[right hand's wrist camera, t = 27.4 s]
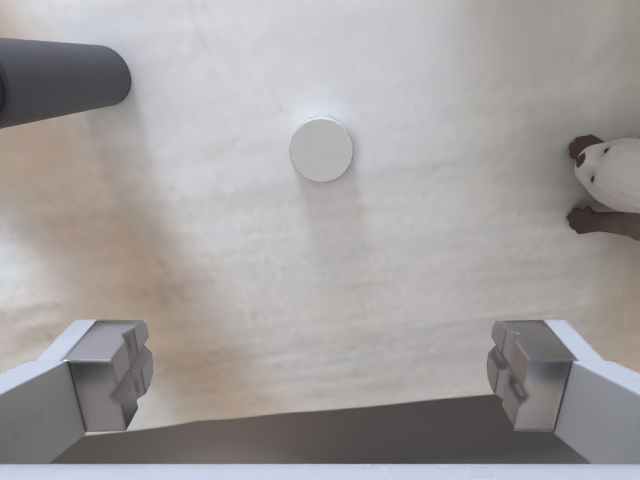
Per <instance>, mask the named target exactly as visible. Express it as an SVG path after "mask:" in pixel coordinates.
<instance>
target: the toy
mask: <svg viewBox="0 0 640 480" xmlns="http://www.w3.org/2000/svg"><path fill="white" fill-rule="evenodd" d="M569 149H570V150H571V154H570V156H571V158H573V159H577V160H576V162H575V166H574V173H575V176H576V177H577V179H578V180H579V181H580V183H581V184H582V185H583V186H584V187H585V188H586V190H587V191H588V192H589V193H590V195H591V196H593V197H594V198H595V199H596V200H597V201H598V202H600V203H602V204H604V205H606V206H608V207H610V208H612V209H614V210H617V211H621V212H595V211H592V209H591V208H590V207H589V206H587V207H585V208H584V209H580V208H574V209H573V213H571V214H569V216H568V218H567V219H568V220H569V221H570V224H569V226H570V227H571V228H572V229H574V230H576V232H577V233H578V234H583V233H589V232H596V231H601V232H609V233H614V234H620V235H625V236H629V237H631V238H633V239H635V240H639V241H640V139H639V138H629V137H626V138H619V139H615V140H611V141H608V142H604V141H602V140H600V139H599V138H597V137H595V136H593V135H588V136H581V137H578V138H576V142H574V143H571V144H570V148H569Z"/></svg>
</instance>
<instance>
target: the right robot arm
mask: <svg viewBox="0 0 640 480" xmlns="http://www.w3.org/2000/svg"><path fill="white" fill-rule="evenodd" d="M148 337H149V335H148V330H147V325H146V324H145V323H144V322H143V321H142V320H98V319H85V320H76V321H73V322H72V323H71V324H70V325H69V326H68V327H67V329H66V330H65V331H64V332H63V333H62V334H61V335H60V336H59V337H58V338H57V339H56V340H55V341H54V342H53V343H52V344H51V345H50V346H49V347H48V348H47V349H46V350H45V351H44V352H43V353H42V354H41V355H40V356H39V357H38V358H37V360H36V361H27V362H25V363H23V364H20V365H18V366H16V367H14V368H12V369H9V370H7V371H5V372H3V373H1V374H0V480H640V374H639V373H637V372H635V371H633V370H630V369H628V368H626V367H624V366H622V365H620V364H617V363H615V362H613V361H604V360H603V358H602V357H601V356H600V355H599V354H598V353H597V352H596V351H595V350H594V349H593V348H592V347H591V346H590V345H589V344H588V343H587V342H586V341H585V340H584V339H583V338H582V337H581V336H580V335H579V334H578V333H577V332H576V330H575V329H574V328H573V327H572V326H571V325H570V324H569V323H568V322H567V321H564V320H562V319H551V320H521V321H496V322H495V324H494V326H493V329H492V335H491V337H492V339H493V340H494V342H495V344H496V346H495V347H494V348H493V349H492V350H491V351H490V352H489V353H488V359H487V374H488V379H489V383H490V386H491V388H492V390H493V392H494V394H496V395H497V396H499V397H500V398H502V399H503V405H502V409H503V411H504V413H505V415H506V416H507V418H508V420H509V422H510V424H511V426H512V427H513V429H514V431H539V432H554V434H555V435H556V436H558V437H559V438H560V439H561V440H563V441H564V442H565V443H566V444H568V445H569V446H570V447H571V448H573V449H574V450H575V451H576V452H578V453H579V454H580V455H581V456H583V457H584V458H585V459H587V460H588V461H589V462H590V463H591V464H49V463H50V462H51V461H52V460H54V459H55V458H56V457H57V456H59V455H60V454H61V453H62V452H64V451H65V450H66V449H67V448H69V447H70V446H71V445H72V444H74V443H75V442H76V441H77V440H79V439H80V438H81V437H83V436H84V435H85V434H86V433H85V432H101V431H126V430H127V428H128V426H129V424H130V422H131V420H132V418H133V416H134V415H135V413H136V411H137V409H138V405H137V399H138V398H140V397H141V396H143V395H144V394H146V392H147V390H148V388H149V386H150V383H151V379H152V374H153V358H152V353H151V352H150V351H149V350H148V349H147V348H146V347H145V346H144V344H145V342H146V340H147V339H148Z"/></svg>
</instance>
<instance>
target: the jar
mask: <svg viewBox="0 0 640 480" xmlns="http://www.w3.org/2000/svg"><path fill="white" fill-rule="evenodd" d="M130 83H131V79H130V73H129V70H128V67H127V65H126V63H125V62H124V60H123V59H122V58H121V57H120V55H118V54H117V53H116V52H115V51H113V50H112V49H110V48H107V47H105V46H100V45H88V44H74V43H61V42H48V41H35V40H22V39H8V38H0V129H1V128H6V127H11V126H15V125H20V124H25V123H30V122H35V121H39V120H44V119H49V118H54V117H59V116H63V115H68V114H73V113H78V112H83V111H87V110H92V109H97V108H102V107H107V106H111V105H115V104H117V103H119V102H121V101H122V100H123V99H124V98H125V97H126V96H127V94H128V92H129V89H130Z"/></svg>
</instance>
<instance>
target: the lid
mask: <svg viewBox="0 0 640 480" xmlns="http://www.w3.org/2000/svg"><path fill="white" fill-rule="evenodd" d="M352 156H353V145H352V141H351V138H350V136H349V133H348V131H347V130H346V128H345V127H344V126H343V125H342V124H341V123H340V122H339V121H337V120H335V119H333V118H331V117H327V116H316V117H312V118H310V119H307V120H306V121H304V122H303V123H302V124H300V125H299V127H298V128H297V129H296V131H295V132H294V135H293V137H292V140H291V144H290V158H291V161H292V163H293V166H294V167H295V169H296V170H297V171H298V172H299V173H300V174H301V175H302V176H303V177H305V178H307V179H309V180H311V181H315V182H328V181H332V180H334V179H336V178H338V177H339V176H341V175H342V174H343V173H344V172H345V171H346V170H347V168H348V167H349V165H350V163H351V160H352Z"/></svg>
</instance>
